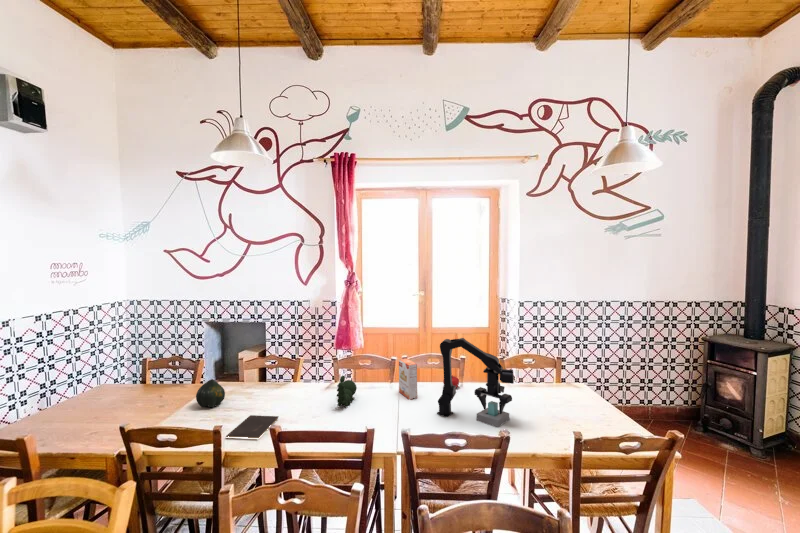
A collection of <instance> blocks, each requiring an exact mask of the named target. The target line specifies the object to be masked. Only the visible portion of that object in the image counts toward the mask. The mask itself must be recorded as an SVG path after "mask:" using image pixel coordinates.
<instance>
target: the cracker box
mask: <svg viewBox="0 0 800 533" xmlns="http://www.w3.org/2000/svg"><path fill="white" fill-rule="evenodd" d="M398 391H399V392H398V393H400V394H401V395H402V394H403V395H402V396H404V397H405V398H406V397H407V398H406V399H407V400H409V399H410V400H414V399H413V398H415V399H418V364H417V363H416V362H414V361H412V360H411V359H408V357H407V358H401V359H400V358H399V359H398Z"/></svg>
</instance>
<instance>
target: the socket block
mask: <svg viewBox="0 0 800 533" xmlns="http://www.w3.org/2000/svg"><path fill="white" fill-rule="evenodd" d="M475 416H476V418H475V419H476V421H477V422H480V423H483V424H485V425H486V424H487V425H488V426H492V427H495V428H499V427H501V426H502V425H504V424H505V423H506V422H508V421H510V413H509V412H507V411H504V410H503V412H502V414H500V410H499V409H498V415H497V416H492V415H488V407H486V409H484V408H483V409H482V410H481V411H479V412H477V413H476V415H475Z"/></svg>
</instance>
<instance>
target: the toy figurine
mask: <svg viewBox="0 0 800 533" xmlns="http://www.w3.org/2000/svg"><path fill="white" fill-rule="evenodd" d="M345 379H346V377H345V375H342V376H340V378H339V383H338V384H337V385H336V386H337V389H336V392H337V393H336V397H337V400H336V402H337V406H338V407H341V406H342V405H344V407H348V406H350V405H351V403H352V402H353V401H354V398H353V397H354V395H355V394H356V392H357V389H358V388H357V384H356V383H355V381H353V380H352V379H348V380H345ZM341 404H342V405H341Z"/></svg>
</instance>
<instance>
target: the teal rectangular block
mask: <svg viewBox="0 0 800 533" xmlns="http://www.w3.org/2000/svg"><path fill="white" fill-rule="evenodd" d="M487 408H488V415H492V416H497V415H498V410H499V402H496V401H493V400H491V401H489V402H488V403H487Z"/></svg>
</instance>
